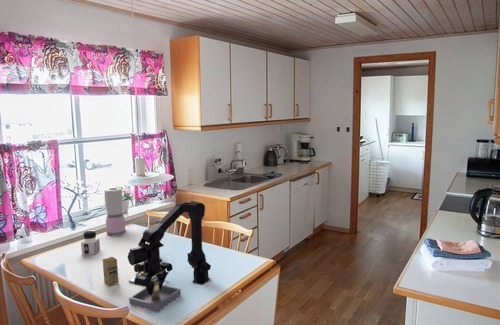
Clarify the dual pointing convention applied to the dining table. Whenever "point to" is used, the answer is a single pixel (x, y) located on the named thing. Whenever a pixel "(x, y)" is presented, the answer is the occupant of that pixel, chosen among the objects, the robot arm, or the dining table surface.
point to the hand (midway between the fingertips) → (155, 291)
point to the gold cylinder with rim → (155, 290)
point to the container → (90, 243)
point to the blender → (114, 211)
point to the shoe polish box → (110, 271)
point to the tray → (166, 297)
